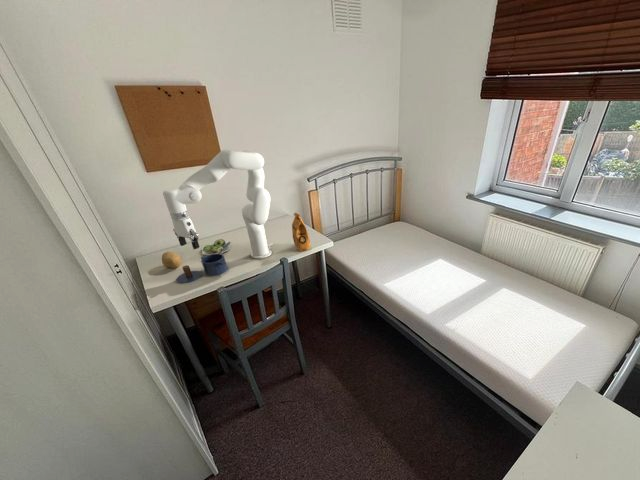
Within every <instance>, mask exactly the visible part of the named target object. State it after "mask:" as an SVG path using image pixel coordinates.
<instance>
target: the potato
mask: <svg viewBox="0 0 640 480" xmlns="http://www.w3.org/2000/svg"><path fill="white" fill-rule="evenodd" d="M182 262H183V261H182V258H181V256H180V254H178V253H177V252H176V253H175V252H173V251H165V252H164V253H163V254H162V256H161V263H162V265H163V266H164V267H167V268H171V269H174V268H175V269H176V268H178V267H180V266H181V265H182Z"/></svg>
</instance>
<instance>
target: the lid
mask: <svg viewBox="0 0 640 480" xmlns="http://www.w3.org/2000/svg"><path fill="white" fill-rule="evenodd" d="M182 270H183V273H180V275H178V276H177V277H176V282H178V283H179V284H188V283H193V282H195V281H197V280H199V279H200V278H201V277H202V276H203V273H202V271H200V270H192V269H191V267H190V265H183V266H182Z"/></svg>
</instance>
